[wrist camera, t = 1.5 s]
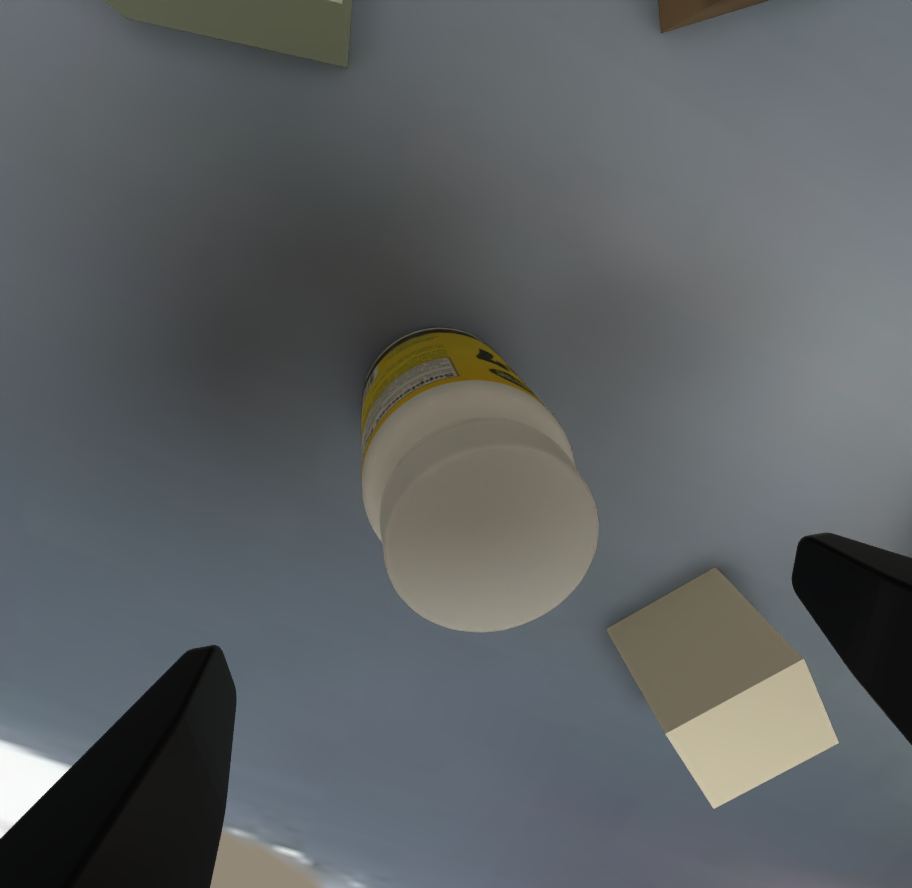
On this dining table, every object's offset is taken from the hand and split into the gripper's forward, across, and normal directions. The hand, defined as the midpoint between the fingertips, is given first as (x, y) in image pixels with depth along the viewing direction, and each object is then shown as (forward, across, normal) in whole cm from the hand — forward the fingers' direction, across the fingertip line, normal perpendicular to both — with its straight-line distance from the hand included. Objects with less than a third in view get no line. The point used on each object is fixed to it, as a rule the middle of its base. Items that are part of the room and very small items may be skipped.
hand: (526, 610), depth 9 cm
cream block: (+10, -9, +12) cm, 18 cm away
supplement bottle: (+10, 0, 0) cm, 10 cm away
